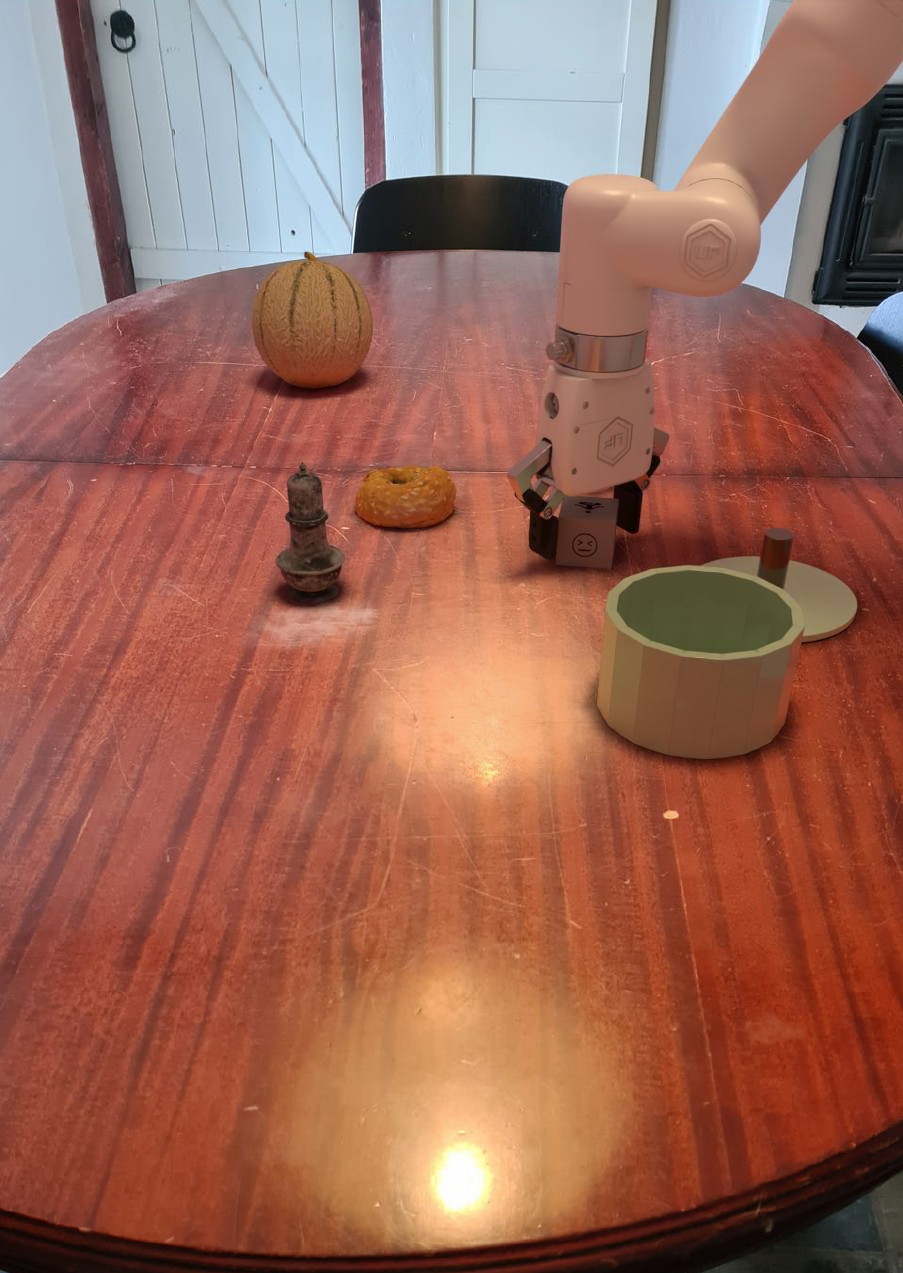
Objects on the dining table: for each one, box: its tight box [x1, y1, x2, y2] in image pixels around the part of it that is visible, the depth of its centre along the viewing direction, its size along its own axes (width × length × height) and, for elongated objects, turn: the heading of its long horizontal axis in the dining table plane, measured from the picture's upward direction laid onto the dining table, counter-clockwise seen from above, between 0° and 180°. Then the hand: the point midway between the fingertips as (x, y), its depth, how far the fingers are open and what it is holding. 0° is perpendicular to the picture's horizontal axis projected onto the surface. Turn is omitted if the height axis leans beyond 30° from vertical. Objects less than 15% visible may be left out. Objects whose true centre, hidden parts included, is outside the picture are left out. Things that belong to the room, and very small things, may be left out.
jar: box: [596, 564, 805, 760], centre depth 84 cm, size 14×14×8 cm
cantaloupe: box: [251, 251, 374, 390], centre depth 141 cm, size 15×15×15 cm
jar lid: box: [700, 527, 858, 643], centre depth 97 cm, size 15×15×7 cm
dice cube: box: [555, 495, 619, 570], centre depth 105 cm, size 5×5×5 cm
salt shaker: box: [275, 461, 346, 604], centre depth 97 cm, size 6×6×12 cm
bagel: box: [354, 464, 457, 529], centre depth 113 cm, size 10×11×5 cm
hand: (584, 541), depth 105 cm, fingers open, 9 cm apart
